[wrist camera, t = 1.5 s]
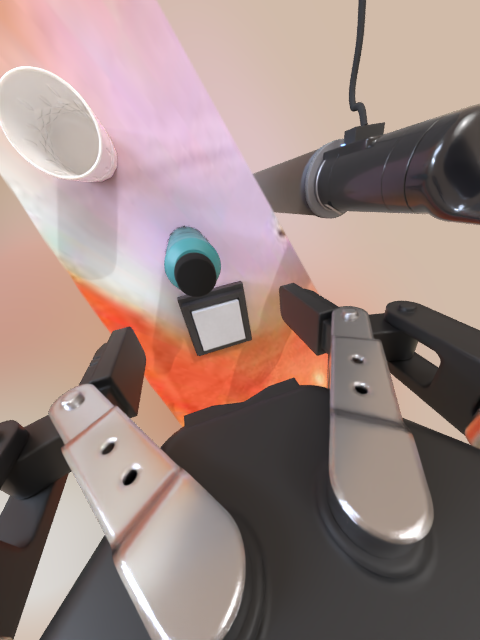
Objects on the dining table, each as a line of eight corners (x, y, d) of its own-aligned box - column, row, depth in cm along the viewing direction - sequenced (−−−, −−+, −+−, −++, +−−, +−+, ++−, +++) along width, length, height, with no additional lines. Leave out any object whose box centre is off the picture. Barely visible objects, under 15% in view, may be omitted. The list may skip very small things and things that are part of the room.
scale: (177, 297, 40) (177, 303, 38) (240, 280, 42) (245, 285, 40) (196, 352, 48) (197, 360, 45) (249, 335, 50) (254, 342, 47)
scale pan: (191, 310, 40) (191, 313, 39) (236, 297, 41) (238, 300, 40) (203, 346, 45) (204, 351, 44) (243, 334, 46) (245, 338, 45)
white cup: (85, 196, 30) (51, 193, 21) (35, 127, 25) (-33, 89, 17) (134, 172, 30) (120, 159, 22) (93, 99, 26) (54, 48, 17)
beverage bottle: (208, 260, 39) (235, 303, 22) (171, 265, 37) (170, 316, 21) (202, 222, 35) (228, 238, 19) (162, 226, 34) (151, 248, 17)
